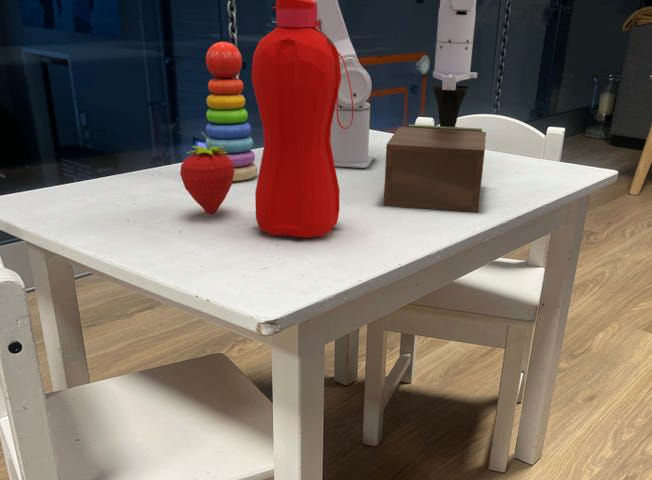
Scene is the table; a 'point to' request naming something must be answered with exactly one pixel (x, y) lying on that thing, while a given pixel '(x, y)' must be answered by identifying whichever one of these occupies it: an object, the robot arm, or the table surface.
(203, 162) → the strawberry
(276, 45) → the water bottle
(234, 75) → the stacking toy
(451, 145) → the cabinet
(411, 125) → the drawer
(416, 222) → the table surface
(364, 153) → the robot arm
